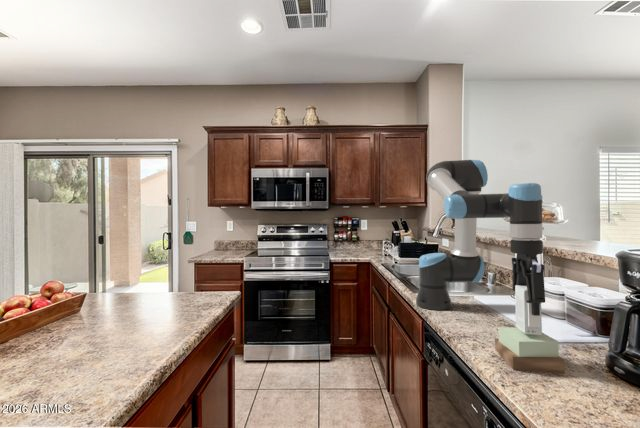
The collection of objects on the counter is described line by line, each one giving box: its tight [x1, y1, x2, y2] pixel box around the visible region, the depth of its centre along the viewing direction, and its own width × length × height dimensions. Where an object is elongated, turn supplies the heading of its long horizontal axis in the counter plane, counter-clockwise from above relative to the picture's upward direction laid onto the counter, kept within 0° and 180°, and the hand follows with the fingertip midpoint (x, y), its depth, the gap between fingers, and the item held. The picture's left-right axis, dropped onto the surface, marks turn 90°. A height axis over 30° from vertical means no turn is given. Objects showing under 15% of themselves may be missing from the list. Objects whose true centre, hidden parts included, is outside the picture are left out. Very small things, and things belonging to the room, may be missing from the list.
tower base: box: [494, 338, 566, 374], centre depth 84 cm, size 12×12×4 cm
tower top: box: [497, 327, 560, 357], centre depth 84 cm, size 10×10×4 cm
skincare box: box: [514, 285, 543, 335], centre depth 84 cm, size 6×4×12 cm
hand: (528, 322), depth 84 cm, fingers closed on skincare box, 6 cm apart
